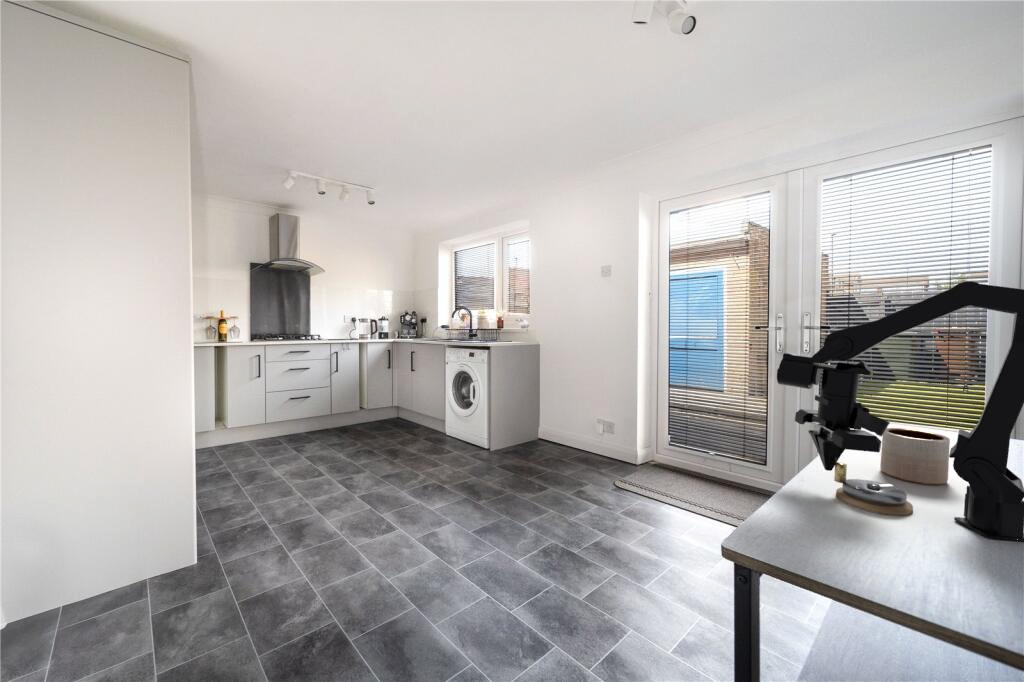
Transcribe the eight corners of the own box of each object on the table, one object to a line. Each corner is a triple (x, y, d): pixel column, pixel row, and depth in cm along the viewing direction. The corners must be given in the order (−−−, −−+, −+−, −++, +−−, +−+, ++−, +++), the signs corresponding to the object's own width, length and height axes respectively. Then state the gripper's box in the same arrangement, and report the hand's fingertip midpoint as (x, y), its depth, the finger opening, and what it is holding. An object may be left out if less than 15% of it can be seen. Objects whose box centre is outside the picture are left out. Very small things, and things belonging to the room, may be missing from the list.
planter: (918, 469, 100) (921, 428, 99) (962, 487, 89) (966, 441, 88) (868, 467, 101) (870, 426, 100) (905, 485, 90) (908, 439, 89)
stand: (929, 518, 74) (930, 507, 74) (858, 512, 76) (859, 502, 76) (884, 492, 86) (885, 483, 85) (823, 488, 87) (824, 479, 87)
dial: (920, 504, 77) (922, 477, 77) (877, 507, 75) (878, 480, 75) (868, 484, 86) (870, 460, 86) (829, 487, 85) (830, 462, 84)
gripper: (921, 409, 74) (908, 496, 76) (854, 387, 92) (845, 457, 94) (849, 403, 76) (837, 488, 77) (798, 383, 94) (789, 452, 96)
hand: (828, 470), depth 86 cm, fingers closed
